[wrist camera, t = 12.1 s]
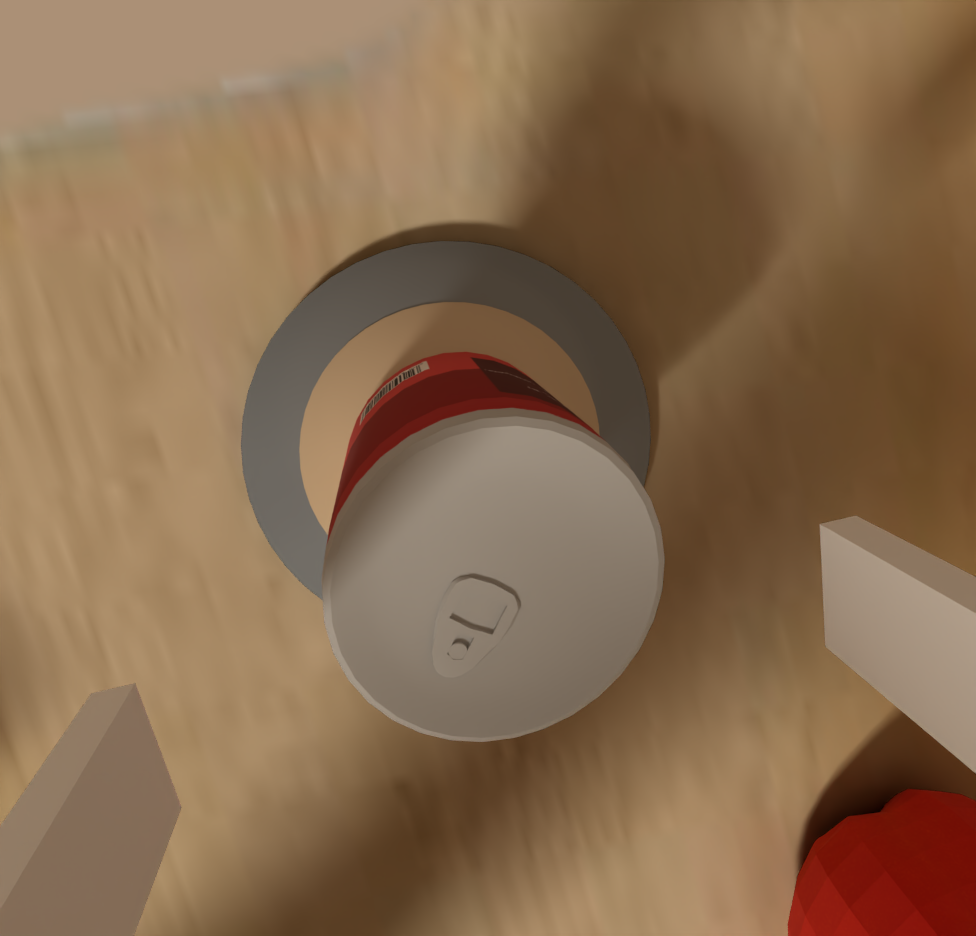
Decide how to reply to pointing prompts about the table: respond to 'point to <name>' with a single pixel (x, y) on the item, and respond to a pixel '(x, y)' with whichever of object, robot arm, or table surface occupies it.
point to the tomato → (893, 872)
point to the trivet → (404, 340)
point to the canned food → (485, 554)
